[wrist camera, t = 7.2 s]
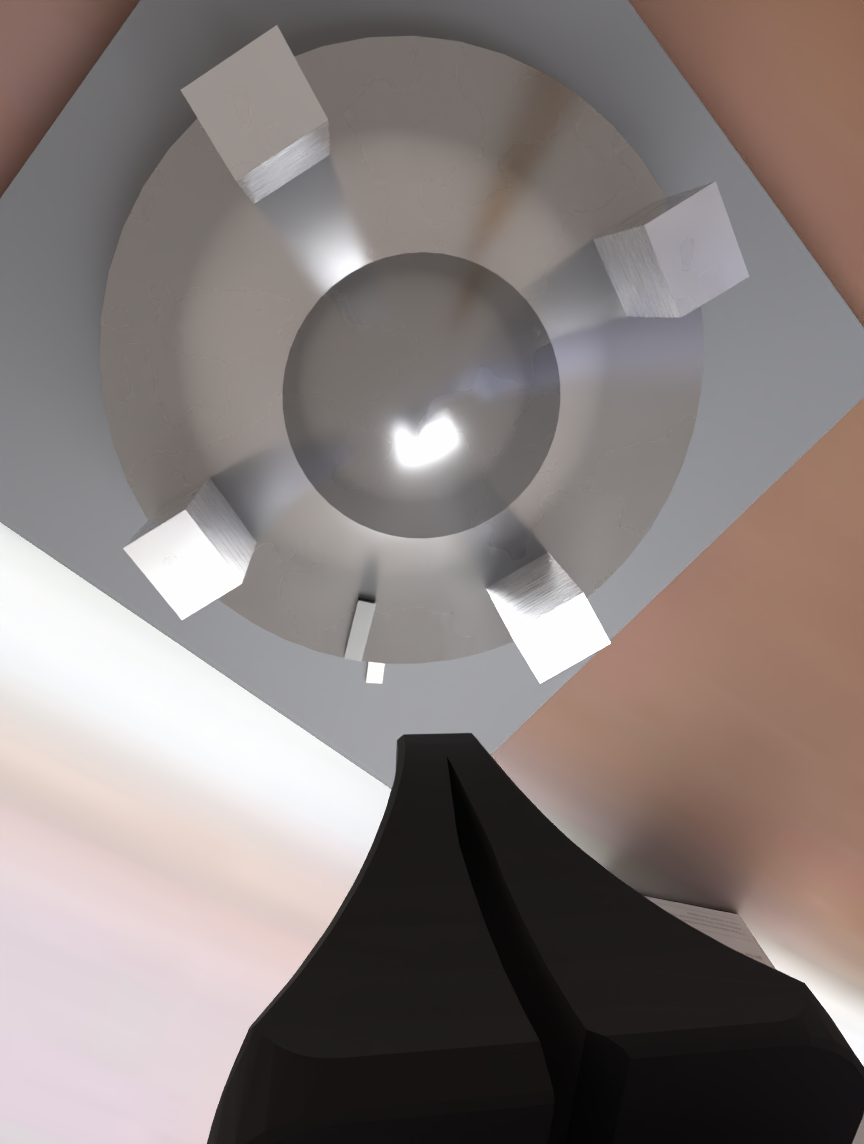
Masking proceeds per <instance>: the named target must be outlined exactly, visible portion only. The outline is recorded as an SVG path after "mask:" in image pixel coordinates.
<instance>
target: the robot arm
mask: <svg viewBox="0 0 864 1144" xmlns="http://www.w3.org/2000/svg"><path fill="white" fill-rule="evenodd" d="M863 1114H864V1067H863V1065H862V1064H861V1062H860V1061H859V1059H858V1058H857V1056H856V1055H855V1054H854V1052H853V1051H852V1049H851V1047H850V1046H849V1044H848V1043H847V1041H846V1040H845V1038H844V1037H843V1035H842V1034H841V1032H840V1031H839V1029H838V1028H837V1026H836V1025H835V1023H834V1022H833V1020H832V1018H831V1017H830V1016H829V1014H828V1013H827V1012H826V1010H825V1009H824V1008H823V1006H822V1005H821V1004H820V1002H819V1001H818V1000H817V999H816V997H815V996H814V995H813V993H812V992H811V991H810V990H809V988H808V987H807V986H806V984H805V983H803V982H801V981H799V980H797V979H795V978H792V977H790V976H788V975H786V974H784V973H782V972H780V971H778V970H776V969H773V968H771V967H769V966H767V965H765V964H763V963H761V962H759V961H757V960H754V959H752V958H750V957H748V956H746V955H744V954H742V953H740V952H738V951H736V950H734V949H732V948H730V947H728V946H726V945H724V944H722V943H721V942H719V941H717V940H715V939H713V938H712V937H710V936H708V935H706V934H704V933H703V932H701V931H699V930H697V929H695V928H694V927H692V926H690V925H688V924H687V923H685V922H683V921H682V920H680V919H678V918H677V917H675V916H674V915H672V914H670V913H669V912H667V911H665V910H664V909H662V908H661V907H659V906H658V905H656V904H655V903H653V902H652V901H650V900H649V899H647V898H646V897H644V896H643V895H641V894H640V893H638V892H637V891H635V890H634V889H632V888H631V887H629V886H628V885H627V884H625V883H624V882H622V881H621V880H620V879H618V878H617V877H615V876H614V875H613V874H611V873H610V872H609V871H608V870H606V869H605V868H604V867H603V866H601V865H600V864H599V863H598V862H596V861H595V860H594V859H593V858H591V857H590V856H589V855H588V854H586V853H585V852H584V851H582V850H581V849H580V848H579V847H578V846H577V845H576V844H574V843H573V842H572V841H571V840H570V839H569V838H567V837H566V836H565V835H564V834H563V833H562V832H561V831H560V830H559V829H558V828H557V827H556V826H555V825H554V824H553V823H552V822H551V821H550V820H549V819H548V818H547V817H546V816H545V815H544V814H543V813H542V812H541V811H540V810H539V809H538V808H537V807H536V806H535V805H534V804H533V803H532V802H531V801H530V800H529V799H528V798H527V797H526V795H525V794H524V793H523V792H522V791H521V790H520V789H519V788H518V787H517V786H516V785H515V783H514V782H513V781H512V780H511V779H510V778H509V777H508V776H507V774H506V773H505V772H504V771H503V770H502V768H501V767H500V766H499V765H498V764H497V763H496V761H495V760H494V759H493V758H492V757H491V755H490V754H489V753H488V752H487V750H486V749H485V748H484V747H483V745H482V744H481V743H480V742H479V741H478V739H477V738H476V737H475V736H474V735H473V734H472V733H442V734H403V735H402V736H401V737H400V738H399V739H398V740H397V748H396V772H395V778H394V783H393V786H392V790H391V793H390V797H389V800H388V804H387V807H386V810H385V813H384V816H383V818H382V821H381V824H380V826H379V829H378V831H377V834H376V837H375V839H374V842H373V844H372V847H371V849H370V851H369V853H368V855H367V858H366V860H365V862H364V864H363V866H362V868H361V870H360V872H359V874H358V876H357V878H356V880H355V882H354V884H353V886H352V888H351V889H350V891H349V893H348V895H347V896H346V898H345V900H344V901H343V903H342V905H341V907H340V908H339V910H338V912H337V914H336V915H335V917H334V918H333V920H332V922H331V923H330V925H329V926H328V928H327V929H326V931H325V932H324V934H323V935H322V937H321V938H320V939H319V941H318V942H317V944H316V945H315V946H314V948H313V949H312V951H311V952H310V954H309V955H308V956H307V958H306V959H305V961H304V962H303V963H302V965H301V966H300V968H299V969H298V970H297V972H296V973H295V974H294V975H293V977H292V978H291V979H290V981H289V982H288V983H287V984H286V985H285V987H284V988H283V989H282V990H281V991H280V992H279V994H278V995H277V996H276V997H275V998H274V1000H273V1001H272V1002H271V1003H270V1004H269V1005H268V1007H267V1008H266V1009H265V1010H264V1011H263V1012H262V1014H261V1015H260V1016H259V1017H258V1018H257V1019H256V1021H255V1022H254V1023H253V1024H252V1025H251V1026H250V1028H249V1030H248V1033H247V1035H246V1037H245V1039H244V1042H243V1044H242V1046H241V1048H240V1051H239V1053H238V1055H237V1058H236V1060H235V1062H234V1065H233V1067H232V1070H231V1072H230V1075H229V1077H228V1080H227V1082H226V1085H225V1087H224V1090H223V1093H222V1095H221V1098H220V1101H219V1104H218V1107H217V1110H216V1113H215V1116H214V1120H213V1123H212V1126H211V1130H210V1134H209V1138H208V1141H207V1144H852V1143H853V1140H854V1138H855V1135H856V1133H857V1130H858V1128H859V1125H860V1123H861V1120H862V1118H863Z"/></svg>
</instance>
